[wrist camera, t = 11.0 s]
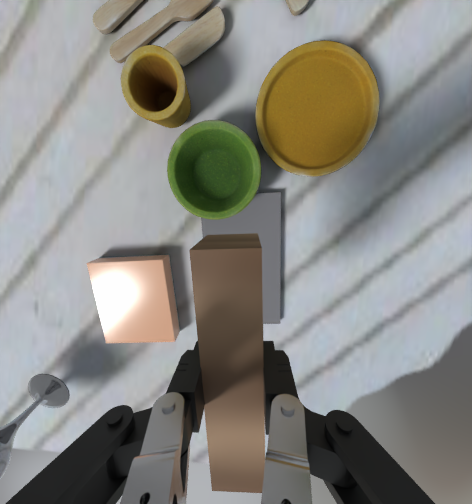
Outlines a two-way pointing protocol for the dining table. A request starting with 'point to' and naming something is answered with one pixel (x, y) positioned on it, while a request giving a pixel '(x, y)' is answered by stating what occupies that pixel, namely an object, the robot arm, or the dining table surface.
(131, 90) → the tableware set
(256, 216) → the rubber mat
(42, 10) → the dining table surface
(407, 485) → the robot arm
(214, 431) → the walnut stick
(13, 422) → the wine glass
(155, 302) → the terracotta tile
